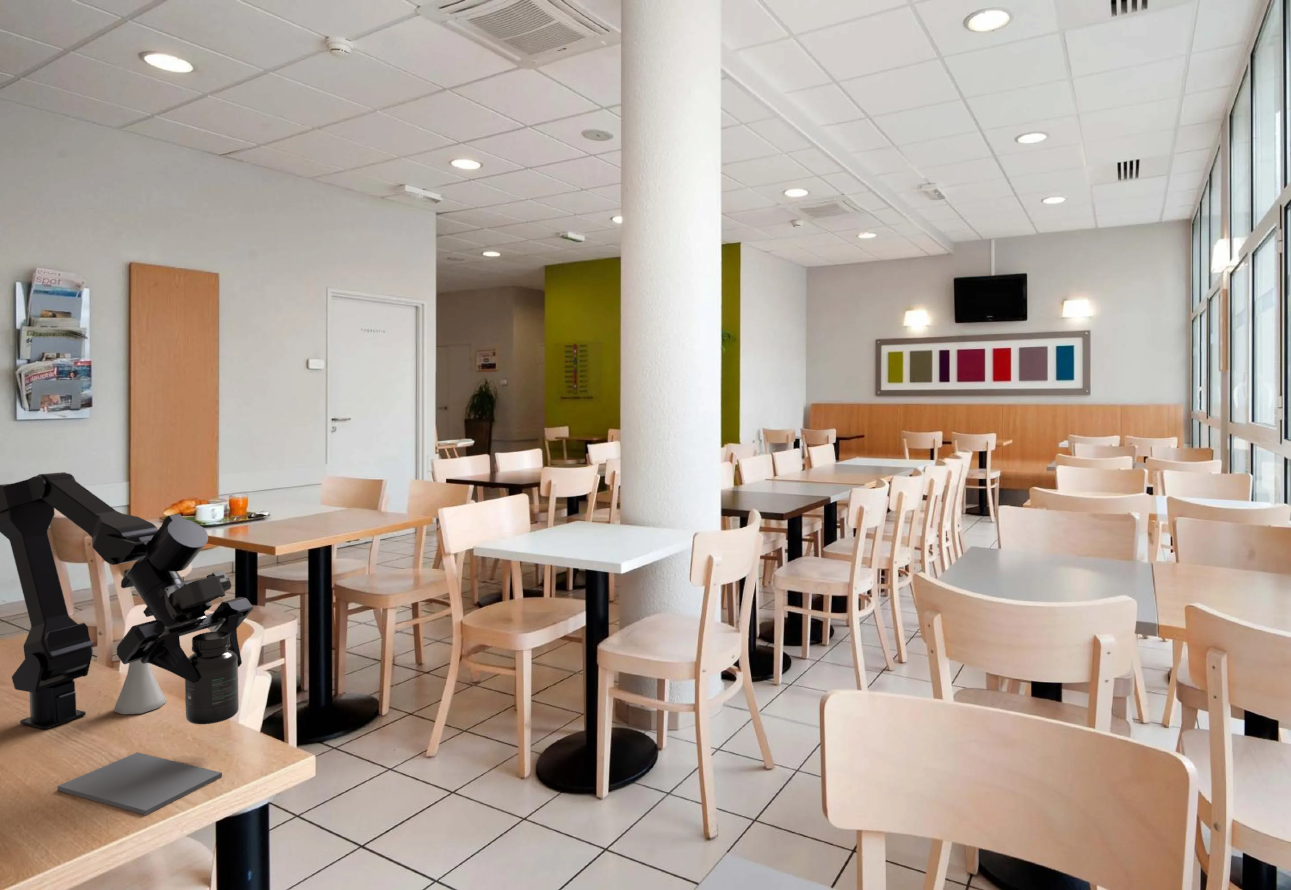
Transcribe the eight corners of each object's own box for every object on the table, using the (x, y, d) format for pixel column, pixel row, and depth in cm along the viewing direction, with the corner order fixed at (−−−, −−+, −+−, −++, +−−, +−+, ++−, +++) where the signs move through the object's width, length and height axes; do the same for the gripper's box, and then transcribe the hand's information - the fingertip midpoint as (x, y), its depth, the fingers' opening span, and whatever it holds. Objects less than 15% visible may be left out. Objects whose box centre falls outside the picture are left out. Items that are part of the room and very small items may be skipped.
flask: (141, 717, 130) (139, 657, 129) (104, 714, 131) (102, 654, 131) (175, 701, 137) (174, 644, 137) (140, 698, 138) (138, 642, 138)
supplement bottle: (178, 716, 116) (176, 636, 115) (227, 703, 121) (226, 626, 121) (196, 729, 112) (194, 645, 111) (246, 715, 117) (245, 635, 116)
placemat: (57, 790, 105) (57, 785, 105) (137, 756, 116) (137, 752, 116) (145, 815, 99) (145, 810, 99) (222, 776, 109) (221, 772, 109)
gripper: (128, 569, 108) (187, 659, 105) (243, 546, 125) (297, 622, 122) (91, 619, 111) (147, 708, 108) (208, 590, 129) (260, 666, 125)
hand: (218, 673), depth 116 cm, fingers closed on supplement bottle, 7 cm apart
